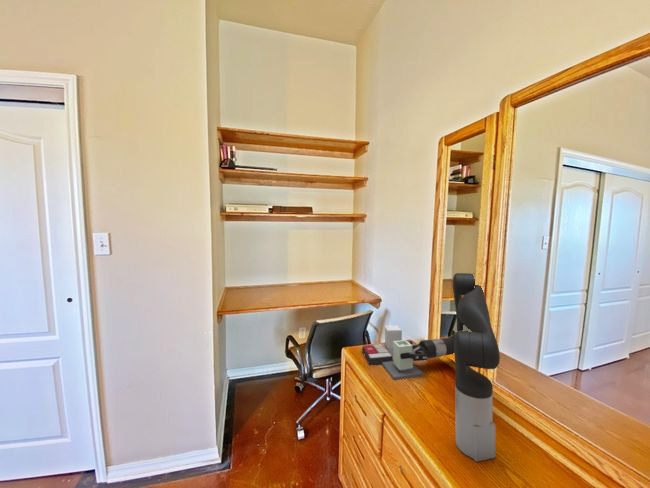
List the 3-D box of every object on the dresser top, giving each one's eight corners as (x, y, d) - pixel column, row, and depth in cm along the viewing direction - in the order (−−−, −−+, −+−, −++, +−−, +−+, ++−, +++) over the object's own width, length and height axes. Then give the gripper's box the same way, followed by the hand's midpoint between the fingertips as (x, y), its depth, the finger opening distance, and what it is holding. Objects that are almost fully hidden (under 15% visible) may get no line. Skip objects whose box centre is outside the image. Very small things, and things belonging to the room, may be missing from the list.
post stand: (422, 375, 113) (422, 347, 113) (393, 380, 111) (393, 351, 110) (406, 360, 127) (406, 334, 126) (381, 363, 125) (380, 337, 124)
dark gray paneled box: (382, 343, 139) (392, 355, 124) (382, 351, 139) (393, 364, 124) (361, 344, 138) (369, 357, 123) (362, 353, 138) (370, 366, 123)
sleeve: (412, 368, 115) (412, 345, 114) (399, 370, 114) (399, 347, 113) (406, 361, 121) (405, 339, 120) (393, 363, 119) (393, 341, 119)
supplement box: (402, 355, 132) (402, 330, 131) (387, 355, 133) (386, 330, 132) (399, 348, 139) (398, 324, 139) (384, 348, 140) (384, 325, 139)
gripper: (423, 333, 126) (390, 337, 123) (442, 347, 112) (404, 351, 109) (423, 349, 126) (390, 353, 124) (442, 364, 112) (405, 369, 109)
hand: (397, 352), depth 116 cm, fingers closed on sleeve, 6 cm apart
